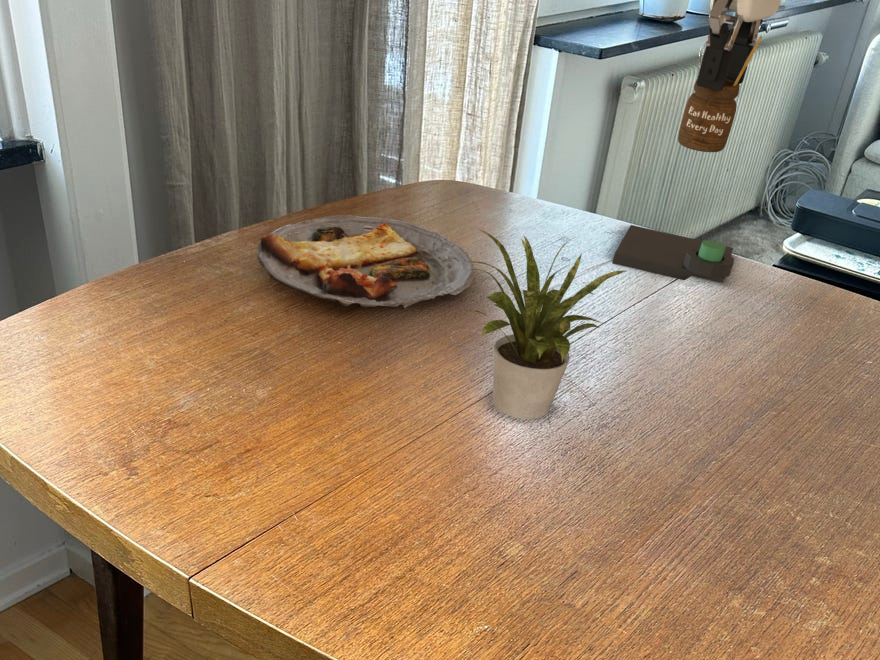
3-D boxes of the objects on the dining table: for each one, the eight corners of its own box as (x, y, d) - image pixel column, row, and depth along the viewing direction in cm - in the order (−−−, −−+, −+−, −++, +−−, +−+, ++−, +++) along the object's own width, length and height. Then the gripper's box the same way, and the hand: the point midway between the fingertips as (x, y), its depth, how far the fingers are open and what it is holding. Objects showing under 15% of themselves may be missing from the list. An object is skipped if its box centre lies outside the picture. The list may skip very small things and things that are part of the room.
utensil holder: (677, 135, 119) (707, 23, 110) (727, 144, 118) (761, 31, 110) (674, 147, 114) (705, 31, 106) (726, 157, 113) (762, 41, 105)
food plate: (311, 332, 99) (313, 299, 97) (225, 248, 113) (224, 217, 111) (506, 302, 110) (512, 272, 107) (405, 228, 124) (408, 200, 121)
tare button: (722, 257, 120) (727, 243, 119) (719, 265, 118) (724, 251, 117) (698, 252, 121) (703, 238, 119) (696, 260, 118) (700, 245, 117)
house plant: (403, 406, 90) (423, 229, 79) (483, 360, 98) (511, 195, 87) (530, 466, 84) (571, 285, 73) (603, 411, 93) (650, 243, 82)
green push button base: (733, 258, 128) (740, 236, 126) (723, 293, 118) (731, 269, 116) (628, 235, 130) (633, 212, 128) (610, 266, 121) (616, 242, 119)
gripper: (780, -105, 92) (719, 103, 105) (836, -106, 103) (775, 83, 115) (710, -117, 95) (658, 86, 108) (771, -117, 106) (718, 68, 118)
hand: (719, 82), depth 111 cm, fingers closed on utensil holder, 5 cm apart
